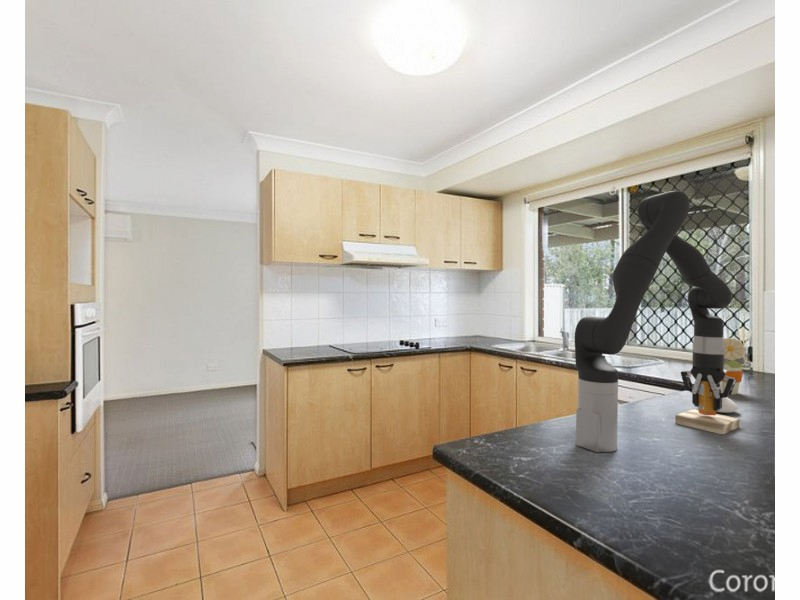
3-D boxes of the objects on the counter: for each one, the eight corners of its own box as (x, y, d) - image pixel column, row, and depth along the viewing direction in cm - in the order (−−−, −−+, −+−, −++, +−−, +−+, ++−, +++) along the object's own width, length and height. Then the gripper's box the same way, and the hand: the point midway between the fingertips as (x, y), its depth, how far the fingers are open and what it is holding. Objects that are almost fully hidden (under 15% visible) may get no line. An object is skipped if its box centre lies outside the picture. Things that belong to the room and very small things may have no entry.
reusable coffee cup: (749, 393, 162) (750, 355, 162) (735, 397, 156) (735, 358, 156) (712, 387, 173) (713, 351, 173) (697, 390, 167) (698, 354, 167)
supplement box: (708, 412, 125) (709, 379, 124) (716, 416, 121) (717, 382, 121) (697, 412, 125) (697, 379, 125) (704, 415, 121) (705, 381, 121)
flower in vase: (692, 410, 139) (693, 336, 138) (700, 404, 146) (701, 334, 146) (741, 419, 129) (743, 339, 129) (747, 412, 137) (749, 337, 136)
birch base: (722, 434, 115) (722, 425, 115) (675, 423, 125) (675, 414, 125) (739, 427, 121) (739, 418, 121) (693, 416, 131) (693, 408, 131)
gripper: (675, 349, 127) (674, 404, 127) (732, 355, 115) (730, 416, 115) (686, 347, 131) (685, 401, 131) (742, 353, 119) (741, 412, 119)
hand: (706, 408), depth 123 cm, fingers closed on supplement box, 4 cm apart
